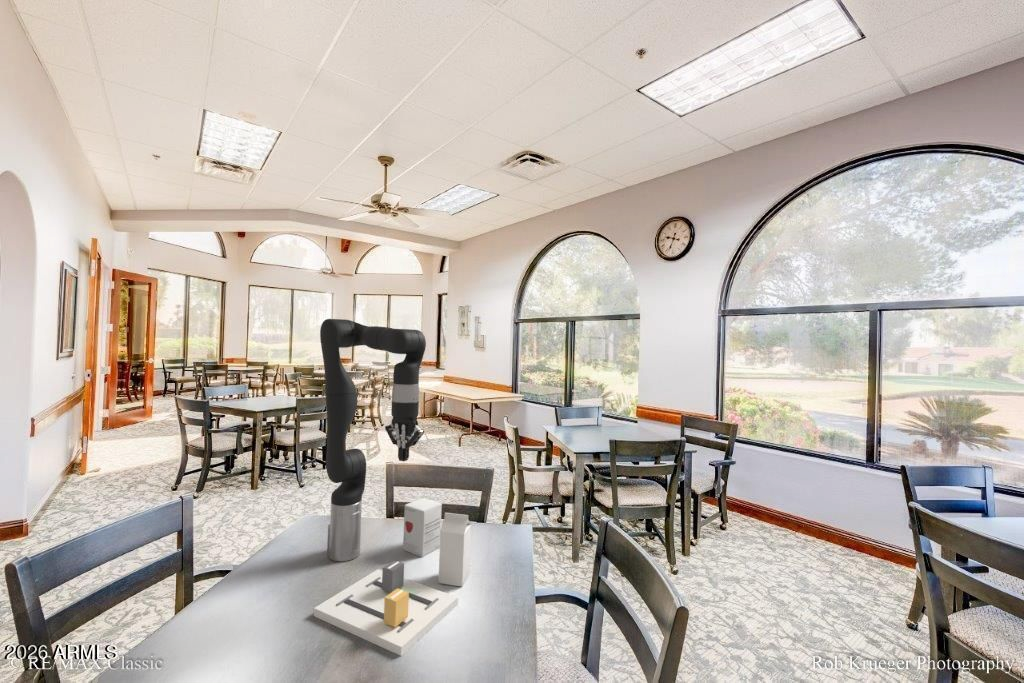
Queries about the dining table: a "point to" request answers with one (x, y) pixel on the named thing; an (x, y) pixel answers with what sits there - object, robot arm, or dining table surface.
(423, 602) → the board
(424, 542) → the supplement box
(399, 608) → the fader amber
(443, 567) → the milk carton
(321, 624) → the dining table surface
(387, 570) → the fader charcoal
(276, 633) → the dining table surface
